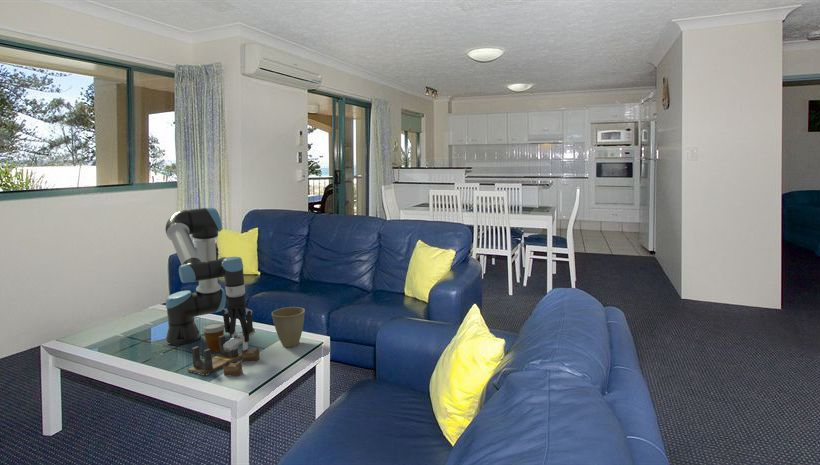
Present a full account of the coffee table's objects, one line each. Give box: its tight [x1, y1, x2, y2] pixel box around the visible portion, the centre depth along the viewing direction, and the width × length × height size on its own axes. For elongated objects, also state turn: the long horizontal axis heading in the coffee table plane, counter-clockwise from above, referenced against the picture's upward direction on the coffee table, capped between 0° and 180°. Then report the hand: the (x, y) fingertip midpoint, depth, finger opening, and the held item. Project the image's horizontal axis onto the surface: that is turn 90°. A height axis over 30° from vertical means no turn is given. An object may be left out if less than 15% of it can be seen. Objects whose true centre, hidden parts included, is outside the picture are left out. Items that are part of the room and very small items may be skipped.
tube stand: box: [222, 347, 261, 377], centre depth 210 cm, size 17×7×5 cm, turn 167°
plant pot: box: [271, 306, 306, 348], centre depth 233 cm, size 15×15×16 cm
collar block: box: [187, 334, 242, 376], centre depth 214 cm, size 10×21×10 cm, turn 153°
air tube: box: [223, 327, 256, 352], centre depth 209 cm, size 18×4×4 cm, turn 167°
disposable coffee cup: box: [202, 321, 225, 354], centre depth 229 cm, size 10×10×12 cm
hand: (240, 348), depth 210 cm, fingers closed on air tube, 4 cm apart
